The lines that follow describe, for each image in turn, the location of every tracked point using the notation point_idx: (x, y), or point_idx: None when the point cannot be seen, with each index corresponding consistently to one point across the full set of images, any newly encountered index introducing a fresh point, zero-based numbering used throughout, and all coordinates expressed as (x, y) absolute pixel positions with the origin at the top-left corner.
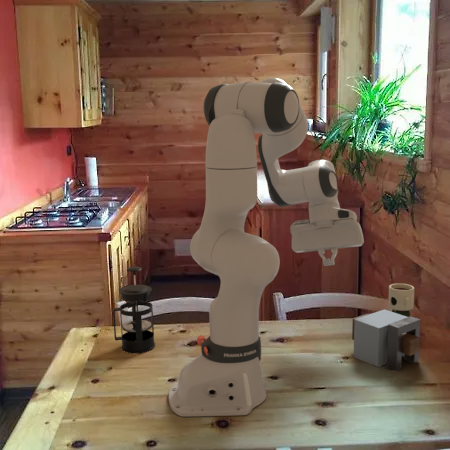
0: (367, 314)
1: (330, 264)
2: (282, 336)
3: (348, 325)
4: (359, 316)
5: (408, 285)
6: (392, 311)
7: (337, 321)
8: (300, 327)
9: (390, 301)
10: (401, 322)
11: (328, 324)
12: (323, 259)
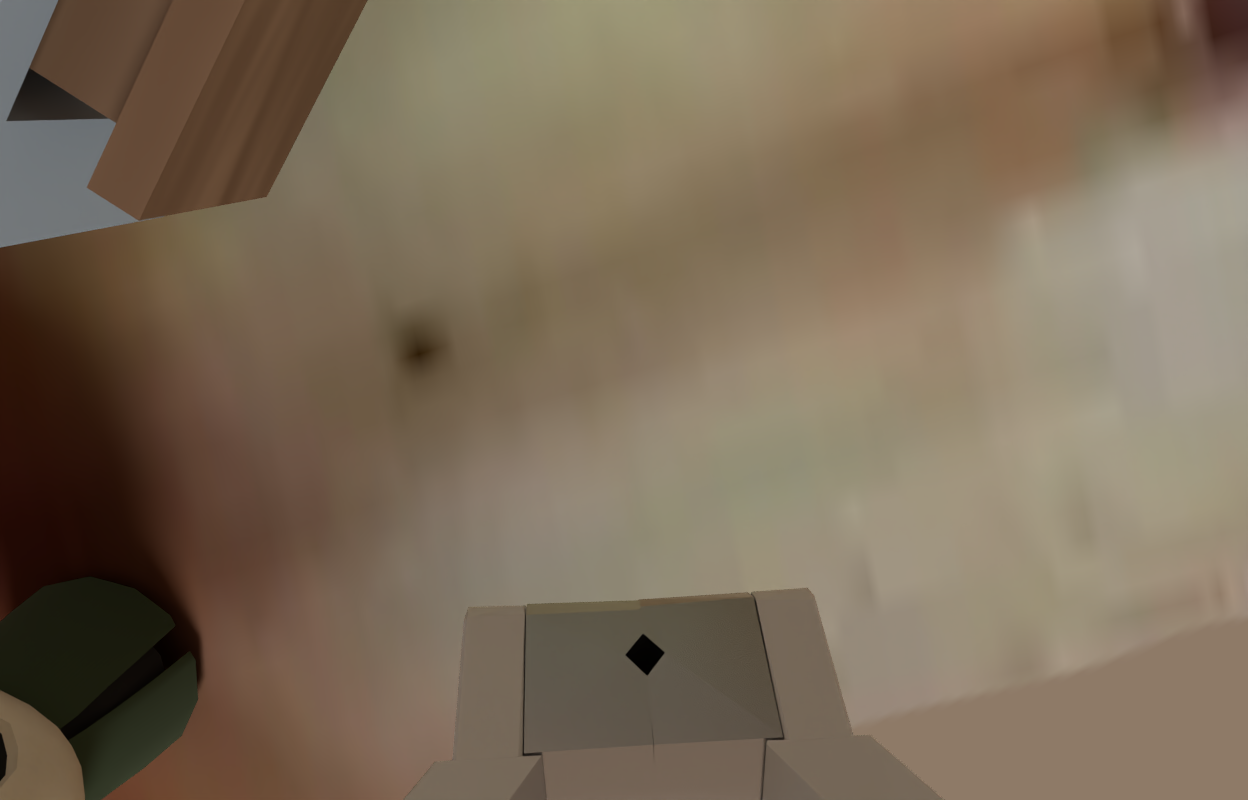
0: (129, 183)
1: (576, 607)
2: (1238, 117)
3: None
4: (205, 62)
5: None
6: (102, 785)
7: None
8: (1070, 445)
9: (7, 774)
10: None
11: None
12: (825, 719)
